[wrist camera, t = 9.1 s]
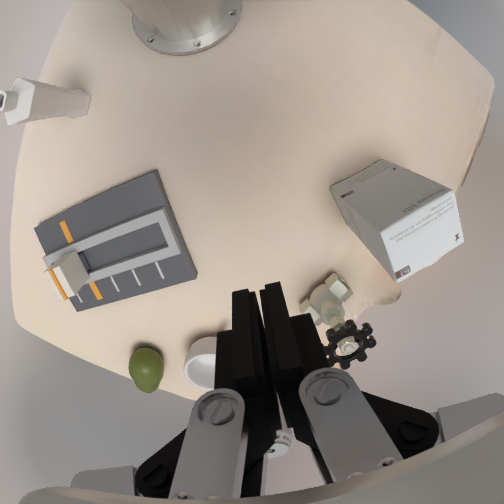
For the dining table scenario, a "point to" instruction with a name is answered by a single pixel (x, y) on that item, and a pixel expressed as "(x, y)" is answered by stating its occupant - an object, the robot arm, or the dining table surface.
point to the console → (121, 242)
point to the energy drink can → (281, 439)
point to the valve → (338, 322)
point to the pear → (146, 369)
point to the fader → (68, 275)
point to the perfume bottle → (41, 102)
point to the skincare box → (400, 216)
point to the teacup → (201, 363)
